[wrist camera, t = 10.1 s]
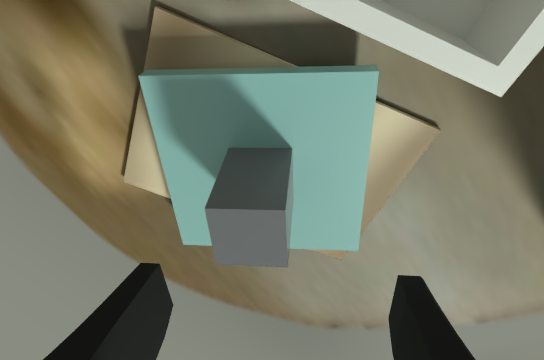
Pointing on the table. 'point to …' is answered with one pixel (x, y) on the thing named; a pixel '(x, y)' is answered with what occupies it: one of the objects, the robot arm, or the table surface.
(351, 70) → the lid
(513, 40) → the storage box
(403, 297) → the robot arm
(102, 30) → the table surface
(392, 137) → the cork mat
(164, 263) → the table surface
